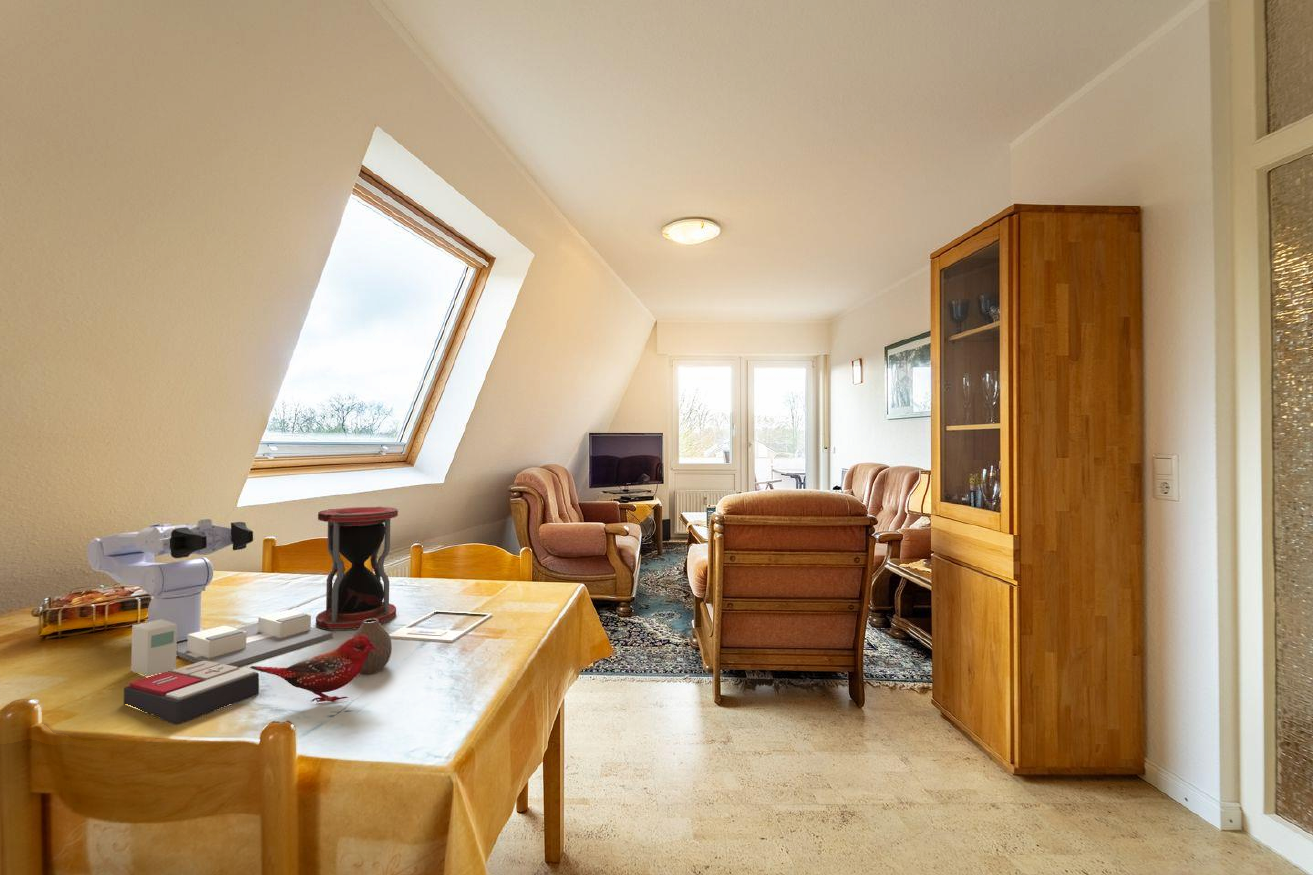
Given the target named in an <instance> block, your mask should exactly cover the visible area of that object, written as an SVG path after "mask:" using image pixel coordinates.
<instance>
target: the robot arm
mask: <svg viewBox="0 0 1313 875" xmlns="http://www.w3.org/2000/svg"><path fill="white" fill-rule="evenodd" d="M253 541H254V532H253V530H251V529H250V528H248V527H247V523H246V522H244V521H237V522H235V521H234V522H231V523H230V527H228V526H222V525H218V524H214V523H213V521H212V519H211V518H201V519H198V521H197V524H189V523H184V524H179V525H177V524H176V525H171V523H163V524H161V523H150V524H149V525H148V527H145V528H143V529H141V530H140V531H133V532H130V531H129V532H122V533H116V534H111V535H105V536H102V537H99V538H97V537H95V538H93V539H91V541H89V543H88V545H87V549H86V557H87V561H88V563H89V566H90V568H91V570H92V571H95V572H102V573H104V574H107V575H108V576H109V577H110V578H112V579H113V580H114V581H115V582H116V583H118V584H119V585H123V586H124V585H125V586H135V587H136V586H137V587H141V589H142V591H143V592H146V594H148V595H149V596H150V597H153V598H152V599H151V600H150V602H149V603H148V609H147V622H150V621H155V620H160V619H162V620H165V621H169V622H172V623H175V624H177V642H181V641H182V642H183V641H186V640H188V634H191V633H196V632H200V631H204V630H205V629H203V628H202V627H201V625H202V623H201V622H202V621H201V620H202V592H204V591H206V588H207V587H208V586H210V583H211V582H212V580H213V577H214V566H213V564H212V561H211V560H210V559H208V558H207V557H199V558H193V559H187V560H180V561H174V562H173V561H172V562H155V557H159V556H162V555H169V554H170V556H171V557H172V558H173V559H182V558H188V557H189V556H191V555H196V556H207V555H211V554H214V553H216V552H218V551H220V550H222V549H224V548H226V547H228V546H231V545H232V551H239V550H244V549H246V548H247V545H248V544H250V543H252V542H253Z"/></svg>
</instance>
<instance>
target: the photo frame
mask: <svg viewBox="0 0 1313 875" xmlns="http://www.w3.org/2000/svg"><path fill="white" fill-rule="evenodd" d="M436 611H439V612H454V613H468V614H467V615H470V614H481V615H480V616H484V617H483V618H481V619H479V620H478V621H476V622H474V623H473V624H472V625H470V626H468V627H466V628H465V629H464V630H447V629H433V628H418V627H417V628H415V627H414V628H413V626H416V625H417V624H419V623H421V622H423V621H425V620H427V619H428V618H427V617H429V616H430V617H432V616H433V615H432V614H434V615H435V613H436ZM434 612H435V613H434ZM431 615H432V616H431ZM492 615H493V613H487V612H484V613H483V612H469V611H468V612H466V611H452V610H437V609H436V610H434V611H432V612H430V613H428V614H426V615H424V616H422V617H420V618H418V619H416V620H414V621H412V622H410V623H408V624H406V625H405V626H402V627H401V628H399V629H397V630H395V631H393V632H391V633H388V634H389V636H390V639H392V640H393V639H394V640H395V639H397V640H410V641H424V642H439V643H454V642H455V641H457V640H458V639H460V638H461V637H463V636H464V635H466V634H468V633H469V632H471V631H472V630H474V629H475V628H476V627H477V626H480V625H481V624H482V623H484V622H485V621H488V618H489V617H490V618H491V616H492ZM430 617H429V618H430ZM492 617H493V616H492ZM426 618H427V619H426ZM490 618H489V619H490ZM424 619H425V620H424ZM420 621H421V622H420ZM483 621H484V622H483ZM418 622H419V623H418ZM481 622H482V623H481ZM480 623H481V624H480Z"/></svg>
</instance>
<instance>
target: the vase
mask: <svg viewBox="0 0 1313 875" xmlns="http://www.w3.org/2000/svg"><path fill="white" fill-rule="evenodd" d="M389 634H390V633H389V632H388V631H387V629H385V627H383V626H382V623H381V624H380V623H379V621H378V619H367V620H364V621H363V622H362V625H361V627H360V628H359V629H357V630H356V632H355V633H354V635H353V636H352V637H351V638H353V637H355V636H357V635H365V636H367V637H368V638H369V639H370V642H371V643H372V644H373V645H375V646H376V647H377V649H372V650H370V652H369V656H368V658H367V659H366V661H365V663H364V665H363V667H362V669H361V671H360V672H359V674H358V675H363V676H367V675H372V674H376V673H378V672H380V671H382V670H383V669H384V668H385V667H386V665H387V664H388V662H389V661H390V658H391V655H392V638H390V636H389Z"/></svg>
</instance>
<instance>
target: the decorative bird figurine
mask: <svg viewBox="0 0 1313 875" xmlns="http://www.w3.org/2000/svg"><path fill="white" fill-rule="evenodd" d="M352 637H353V636H352ZM352 637H350V638H348V639H347V640H345V641H344V642H343V643H342V644H340V645H339V646H337V648H335V649H332V650H331V651H328V652H325V653H322V654H318V655H314V656H312V657H308V658H305V659H303V660H300V661H299V662H297V663H296V662H295V663H294V664H292V665H290V666H288V667H275V666H274V667H272V666H260V665H257V666H256V665H255V666H254V665H252V666H250V667H249V668H250V669H252V670H253V671H254V670H255V671H257V672H262V673H266V674H270V675H274V676H277V677H279V678H282V679H283V680H284V681H286V682H287V683H289V684H290V685H291V686H293V687H294V688H299V689H302V690H306V691H308V692H311V693H312V694H314V695H316V696H319V697H314V698H313V699H311V700H310V702H315V701H316V703H318V702H319V703H320V702H336V701H338V700H342V699H348V698H349V697H348V696H342V697H341V696H338V695H337V696H336V695H335V696H330V695H327V694H326V693H329V692H334V691H336V690H339V689H342V688H343V687H345V686H346V685H349V684H350V683H351V682H352V681H353V680H354V679H355V678H356V677H358V675H360V674H359V672H360V671H361V669H362V667H363V665H364V663H365V661H366V659H367V658H368V656H369V652H370V650H372V649H377V647H376V646H375V645H373V644H372V643H371V642H370V639H369V638H368V637H367V636H365V635H357V636H355V637H353V638H352ZM324 693H325V694H324Z"/></svg>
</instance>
